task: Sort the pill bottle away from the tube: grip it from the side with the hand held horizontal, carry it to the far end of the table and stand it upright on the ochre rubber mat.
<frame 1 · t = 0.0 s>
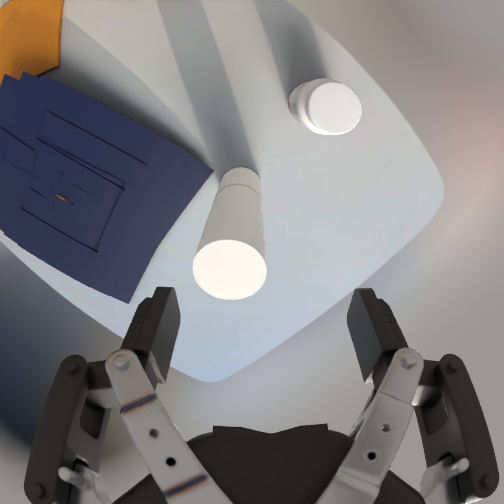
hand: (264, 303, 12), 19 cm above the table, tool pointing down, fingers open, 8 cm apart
tube: (240, 185, 29), on the table
papers: (69, 185, 28), on the table
pill bottle: (311, 104, 24), on the table
amber mat: (25, 31, 15), on the table
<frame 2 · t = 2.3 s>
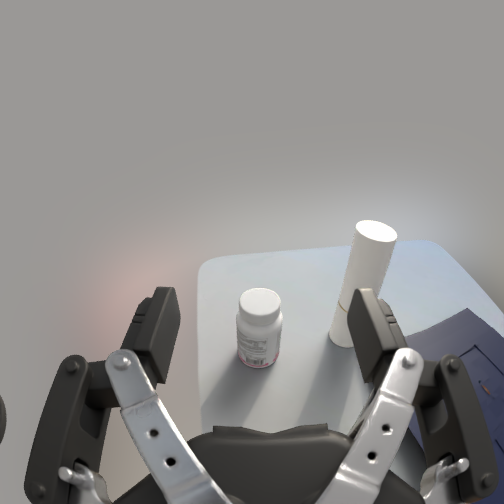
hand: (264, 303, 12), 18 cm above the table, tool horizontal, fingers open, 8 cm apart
tube: (344, 335, 33), on the table
papers: (476, 407, 20), on the table
pill bottle: (258, 353, 31), on the table
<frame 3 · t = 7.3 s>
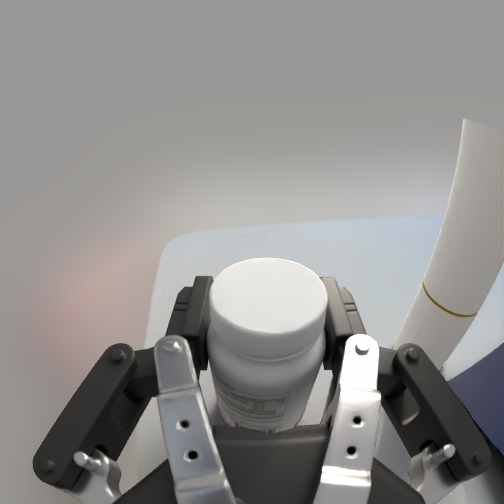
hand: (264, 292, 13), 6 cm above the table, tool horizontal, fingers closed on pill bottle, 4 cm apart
tube: (417, 354, 16), on the table
pill bottle: (261, 405, 14), on the table, touching gripper
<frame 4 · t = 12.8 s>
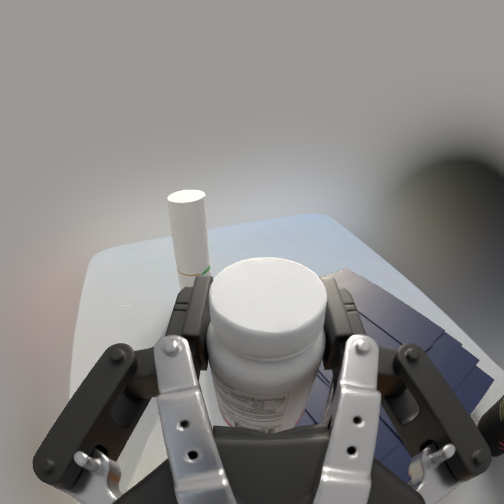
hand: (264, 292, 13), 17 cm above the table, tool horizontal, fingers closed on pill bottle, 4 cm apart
tube: (198, 300, 38), on the table
papers: (348, 365, 28), on the table
beverage can: (492, 435, 15), on the table
pill bottle: (261, 404, 14), point 11 cm above the table, touching gripper
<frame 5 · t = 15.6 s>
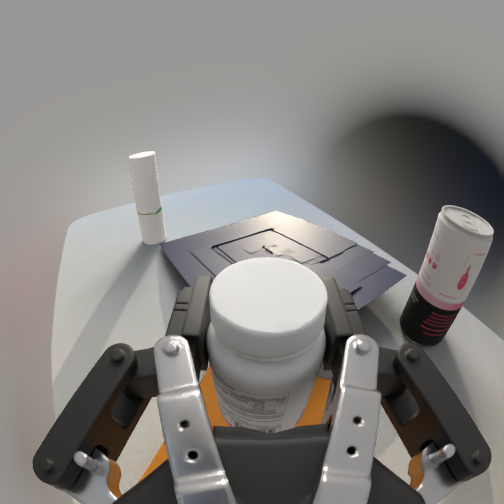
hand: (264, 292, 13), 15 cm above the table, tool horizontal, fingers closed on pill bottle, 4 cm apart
tube: (154, 239, 46), on the table
papers: (272, 271, 39), on the table
beverage can: (420, 329, 28), on the table
pill bottle: (261, 404, 14), point 9 cm above the table, touching gripper
amber mat: (258, 444, 18), on the table
when the fingers open (7 cm above the table, at t = 18.2 s): pill bottle stays where it is, resting on amber mat.
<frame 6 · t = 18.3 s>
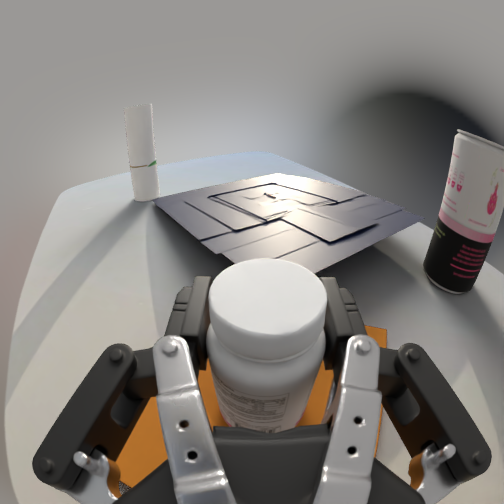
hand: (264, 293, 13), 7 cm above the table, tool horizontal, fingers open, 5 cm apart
tube: (147, 197, 42), on the table
papers: (274, 220, 35), on the table
beverage can: (446, 278, 24), on the table
pill bottle: (261, 405, 14), resting on amber mat
amber mat: (261, 406, 14), on the table
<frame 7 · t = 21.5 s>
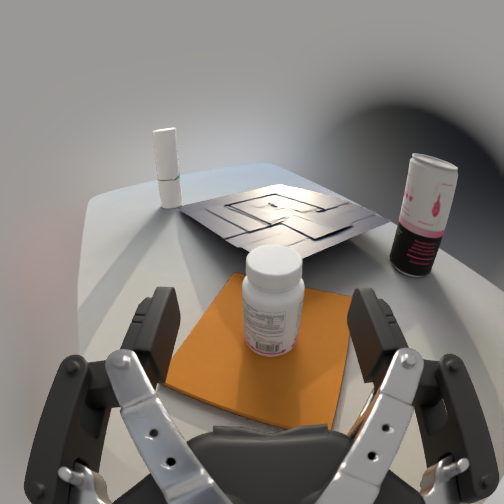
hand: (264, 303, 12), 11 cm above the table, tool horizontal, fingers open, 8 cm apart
tube: (172, 205, 53), on the table
papers: (276, 223, 45), on the table
beverage can: (409, 266, 34), on the table
pill bottle: (270, 338, 24), resting on amber mat
amber mat: (270, 340, 24), on the table
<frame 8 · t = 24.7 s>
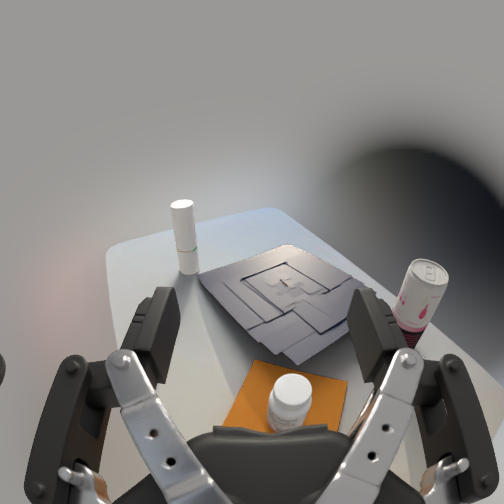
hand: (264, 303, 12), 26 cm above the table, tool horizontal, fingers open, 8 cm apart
tube: (190, 269, 58), on the table
papers: (287, 298, 51), on the table
beverage can: (396, 343, 40), on the table
pill bottle: (285, 419, 30), resting on amber mat
amber mat: (284, 420, 30), on the table
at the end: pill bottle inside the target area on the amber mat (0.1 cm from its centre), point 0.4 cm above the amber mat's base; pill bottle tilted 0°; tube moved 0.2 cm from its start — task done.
